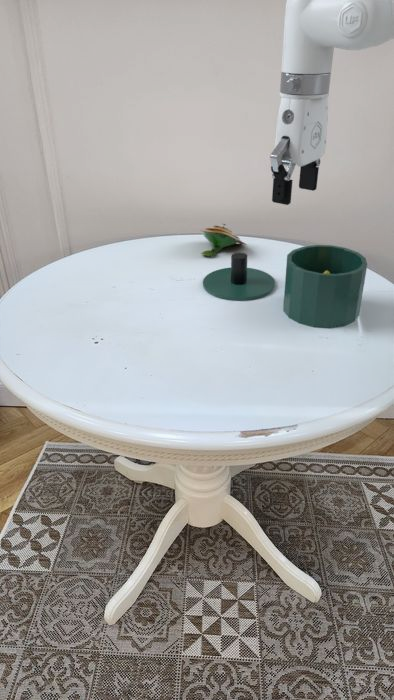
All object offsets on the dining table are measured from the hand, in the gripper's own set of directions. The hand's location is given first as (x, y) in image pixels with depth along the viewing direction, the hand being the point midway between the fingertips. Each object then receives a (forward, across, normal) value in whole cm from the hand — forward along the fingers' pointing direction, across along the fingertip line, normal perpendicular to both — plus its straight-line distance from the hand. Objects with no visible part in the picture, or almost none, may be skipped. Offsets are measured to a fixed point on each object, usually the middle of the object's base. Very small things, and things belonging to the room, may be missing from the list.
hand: (294, 195), depth 92 cm
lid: (+20, +1, +11) cm, 23 cm away
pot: (+20, 0, -7) cm, 22 cm away
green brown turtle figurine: (+21, +15, +25) cm, 36 cm away
